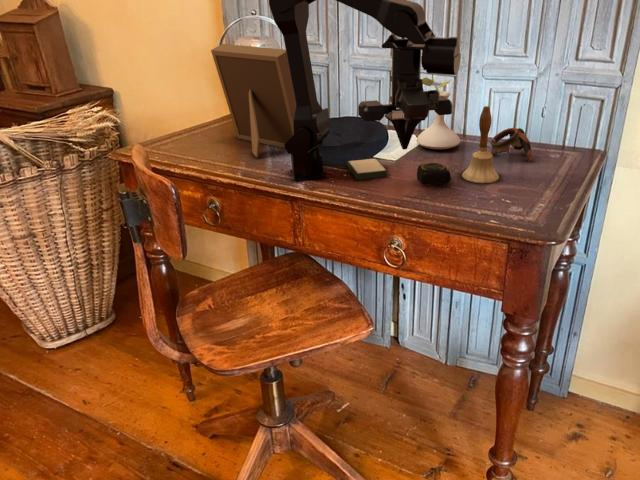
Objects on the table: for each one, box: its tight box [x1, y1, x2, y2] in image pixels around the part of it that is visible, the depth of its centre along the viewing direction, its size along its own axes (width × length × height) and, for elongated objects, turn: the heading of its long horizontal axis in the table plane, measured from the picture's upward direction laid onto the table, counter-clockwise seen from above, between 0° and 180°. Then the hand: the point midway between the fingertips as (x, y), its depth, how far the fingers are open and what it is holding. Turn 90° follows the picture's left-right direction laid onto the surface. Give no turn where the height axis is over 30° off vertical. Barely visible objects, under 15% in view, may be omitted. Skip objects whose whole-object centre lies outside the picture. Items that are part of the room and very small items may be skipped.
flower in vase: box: [416, 55, 461, 151], centre depth 145 cm, size 13×11×25 cm
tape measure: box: [416, 162, 452, 187], centre depth 127 cm, size 7×7×4 cm
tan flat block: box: [346, 158, 387, 181], centre depth 134 cm, size 7×9×2 cm
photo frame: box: [210, 43, 296, 158], centre depth 146 cm, size 15×22×25 cm
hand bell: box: [461, 105, 500, 184], centre depth 127 cm, size 8×8×16 cm
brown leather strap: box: [490, 127, 533, 163], centre depth 142 cm, size 12×10×8 cm
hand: (404, 148), depth 121 cm, fingers closed
